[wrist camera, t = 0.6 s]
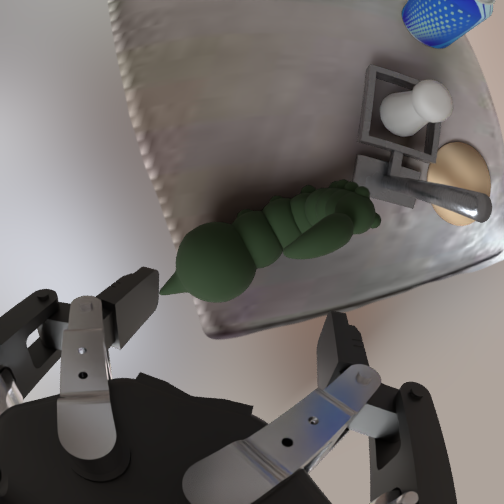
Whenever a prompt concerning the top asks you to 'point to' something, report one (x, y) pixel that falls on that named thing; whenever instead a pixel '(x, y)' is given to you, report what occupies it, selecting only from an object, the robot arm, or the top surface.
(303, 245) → the toy figurine
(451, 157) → the disc
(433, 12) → the beer can
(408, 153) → the ring stand
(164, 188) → the top surface
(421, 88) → the salt shaker
